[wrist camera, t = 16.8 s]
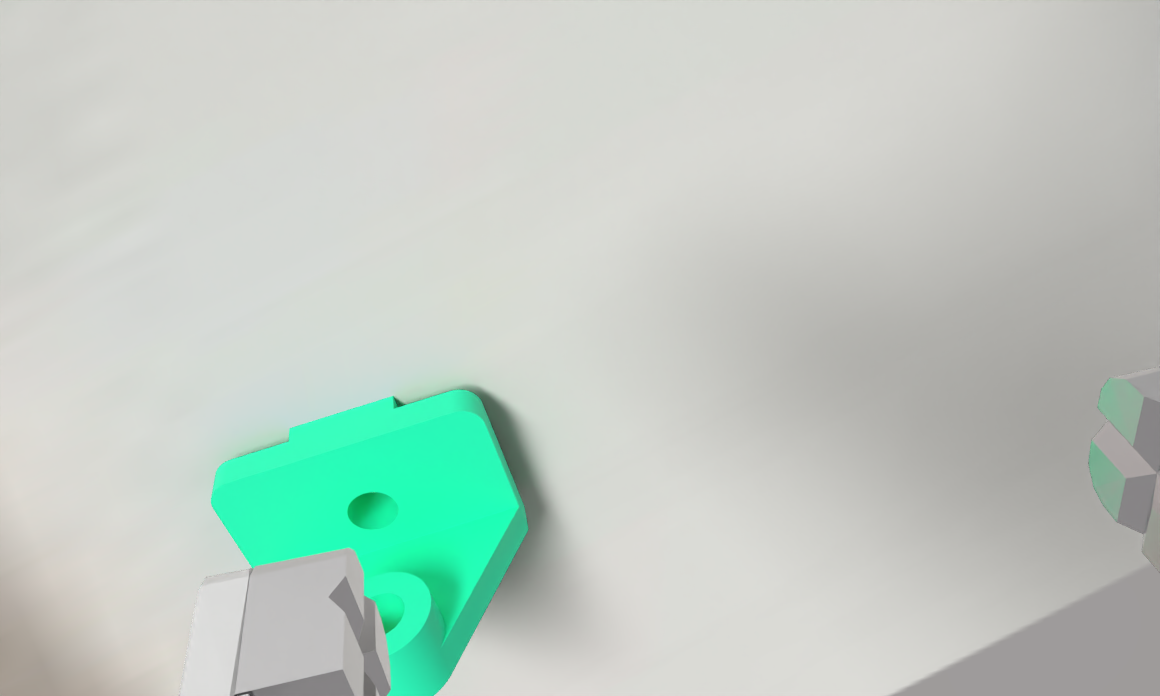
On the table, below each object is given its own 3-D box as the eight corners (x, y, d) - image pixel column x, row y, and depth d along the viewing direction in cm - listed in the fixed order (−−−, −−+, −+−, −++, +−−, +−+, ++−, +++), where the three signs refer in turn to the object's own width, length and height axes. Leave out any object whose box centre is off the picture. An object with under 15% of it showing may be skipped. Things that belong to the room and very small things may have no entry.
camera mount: (472, 368, 45) (496, 535, 37) (521, 491, 50) (553, 664, 41) (209, 451, 46) (174, 635, 37) (282, 565, 50) (264, 753, 42)
